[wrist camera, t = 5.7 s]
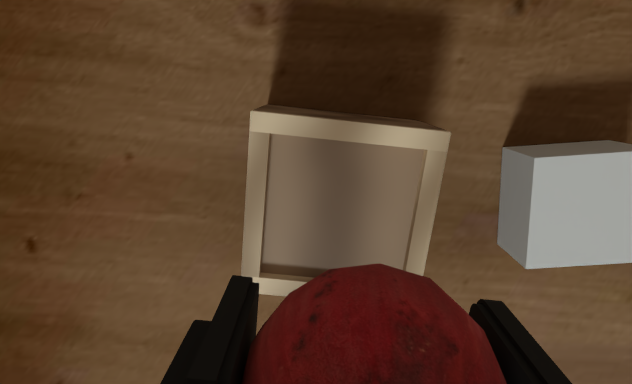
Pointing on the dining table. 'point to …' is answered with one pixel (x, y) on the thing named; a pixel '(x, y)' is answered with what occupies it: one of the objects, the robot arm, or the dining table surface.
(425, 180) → the wooden open box
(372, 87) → the dining table surface
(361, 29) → the dining table surface
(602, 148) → the grey block
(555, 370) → the robot arm
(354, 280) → the pomegranate
